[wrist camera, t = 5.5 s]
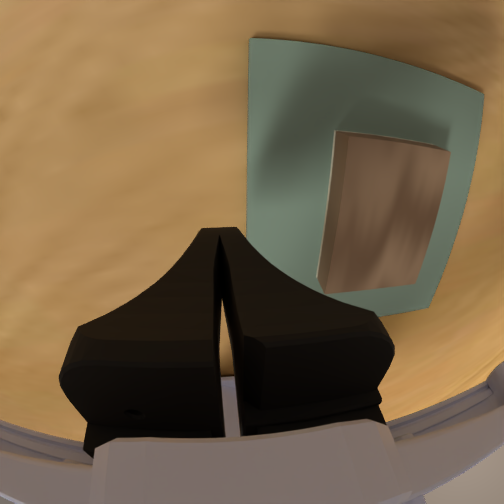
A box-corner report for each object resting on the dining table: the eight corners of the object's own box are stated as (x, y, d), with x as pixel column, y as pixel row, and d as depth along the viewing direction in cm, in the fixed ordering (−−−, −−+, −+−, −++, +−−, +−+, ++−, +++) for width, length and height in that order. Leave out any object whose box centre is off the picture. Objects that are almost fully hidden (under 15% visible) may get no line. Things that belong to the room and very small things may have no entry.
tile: (315, 276, 16) (402, 268, 17) (324, 294, 15) (415, 283, 16) (334, 130, 12) (432, 144, 13) (348, 136, 11) (451, 152, 11)
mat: (425, 304, 20) (428, 307, 20) (245, 327, 18) (246, 332, 18) (479, 93, 12) (484, 94, 11) (248, 39, 10) (250, 38, 10)
